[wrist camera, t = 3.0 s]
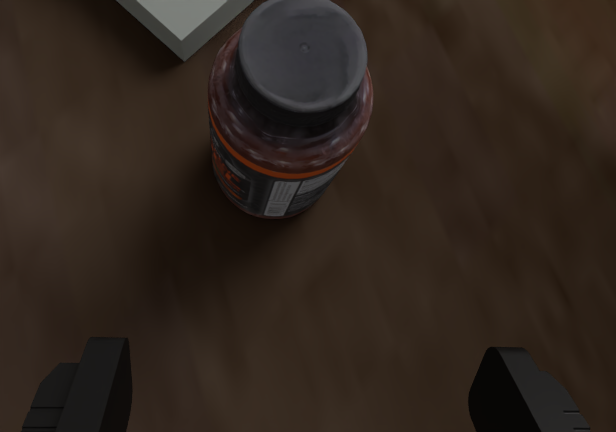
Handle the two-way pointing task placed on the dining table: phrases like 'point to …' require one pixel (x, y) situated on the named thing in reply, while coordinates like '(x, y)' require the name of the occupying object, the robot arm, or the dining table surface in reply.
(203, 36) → the press
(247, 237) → the dining table surface
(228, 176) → the supplement bottle
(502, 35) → the dining table surface
